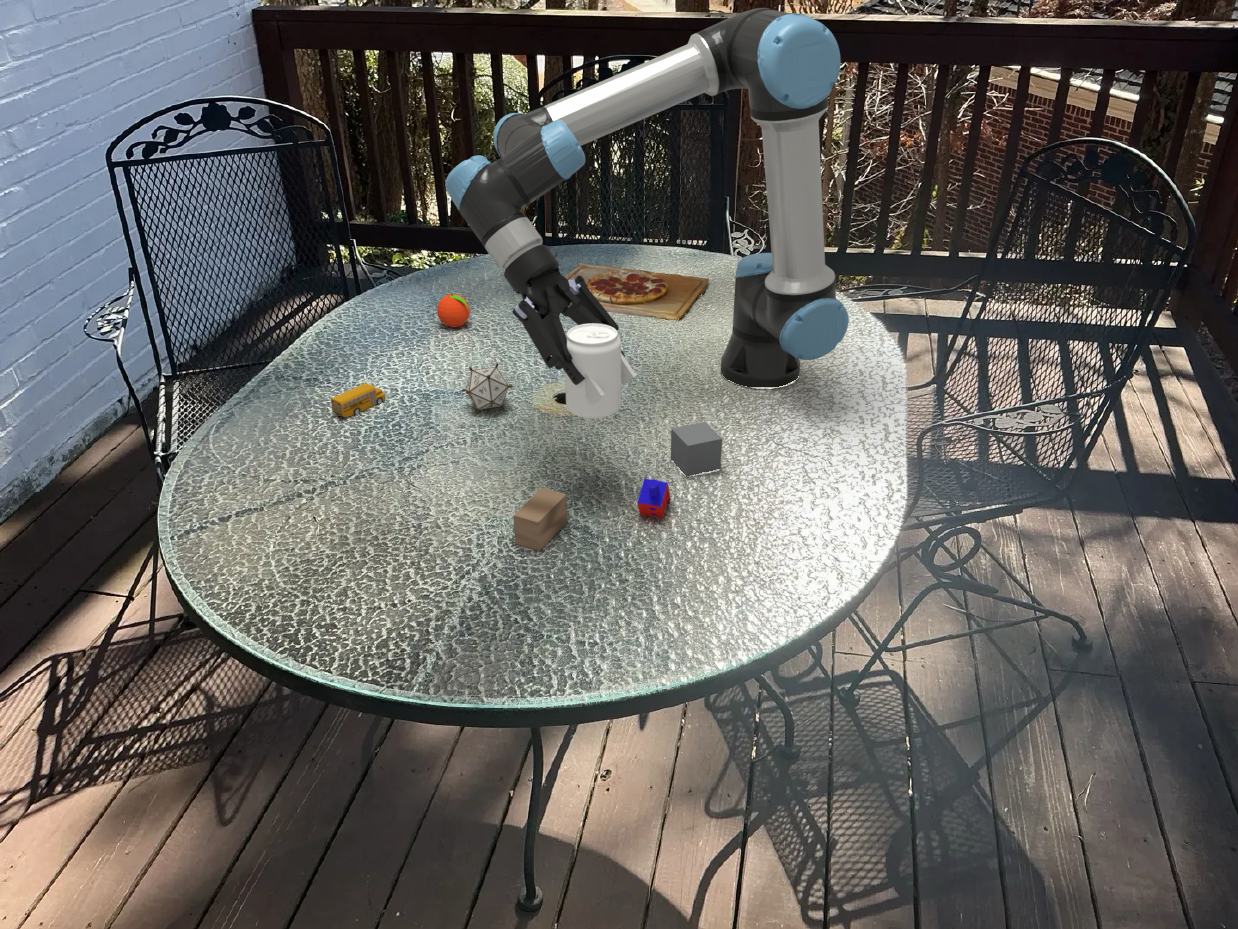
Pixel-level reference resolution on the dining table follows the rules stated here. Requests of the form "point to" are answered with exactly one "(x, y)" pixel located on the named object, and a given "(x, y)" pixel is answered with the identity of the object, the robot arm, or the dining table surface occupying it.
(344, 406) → the toy bus
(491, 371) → the game die
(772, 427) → the dining table surface
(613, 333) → the beverage can
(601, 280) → the pizza
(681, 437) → the grey cube
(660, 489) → the toy building block
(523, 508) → the walnut brick
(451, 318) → the clementine
